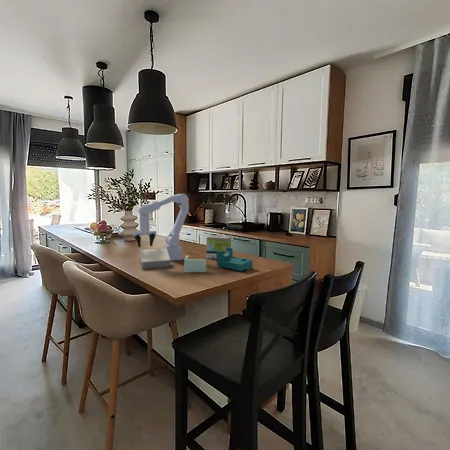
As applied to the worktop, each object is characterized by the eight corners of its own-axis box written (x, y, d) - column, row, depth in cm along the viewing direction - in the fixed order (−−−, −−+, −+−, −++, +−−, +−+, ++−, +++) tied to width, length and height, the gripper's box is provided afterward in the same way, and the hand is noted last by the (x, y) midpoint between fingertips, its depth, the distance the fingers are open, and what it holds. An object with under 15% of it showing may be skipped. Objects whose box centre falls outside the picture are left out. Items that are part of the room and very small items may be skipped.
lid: (166, 249, 179) (166, 248, 178) (170, 260, 167) (170, 259, 166) (140, 250, 173) (140, 250, 173) (142, 262, 161) (142, 261, 161)
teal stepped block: (217, 268, 167) (216, 251, 166) (228, 263, 176) (227, 247, 174) (241, 273, 156) (240, 255, 154) (252, 268, 164) (251, 250, 162)
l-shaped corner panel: (205, 273, 157) (205, 259, 156) (184, 273, 156) (184, 259, 156) (207, 267, 168) (206, 255, 168) (186, 267, 168) (186, 255, 168)
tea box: (206, 258, 191) (206, 236, 189) (210, 255, 201) (210, 235, 199) (227, 259, 187) (228, 237, 186) (231, 256, 197) (231, 235, 196)
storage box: (166, 262, 180) (166, 255, 180) (170, 267, 167) (170, 260, 167) (140, 264, 174) (140, 257, 174) (142, 269, 161) (142, 262, 161)
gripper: (152, 223, 184) (153, 244, 186) (130, 225, 175) (131, 246, 177) (157, 224, 179) (158, 245, 180) (135, 226, 170) (135, 248, 171)
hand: (145, 246), depth 178 cm, fingers open, 7 cm apart
